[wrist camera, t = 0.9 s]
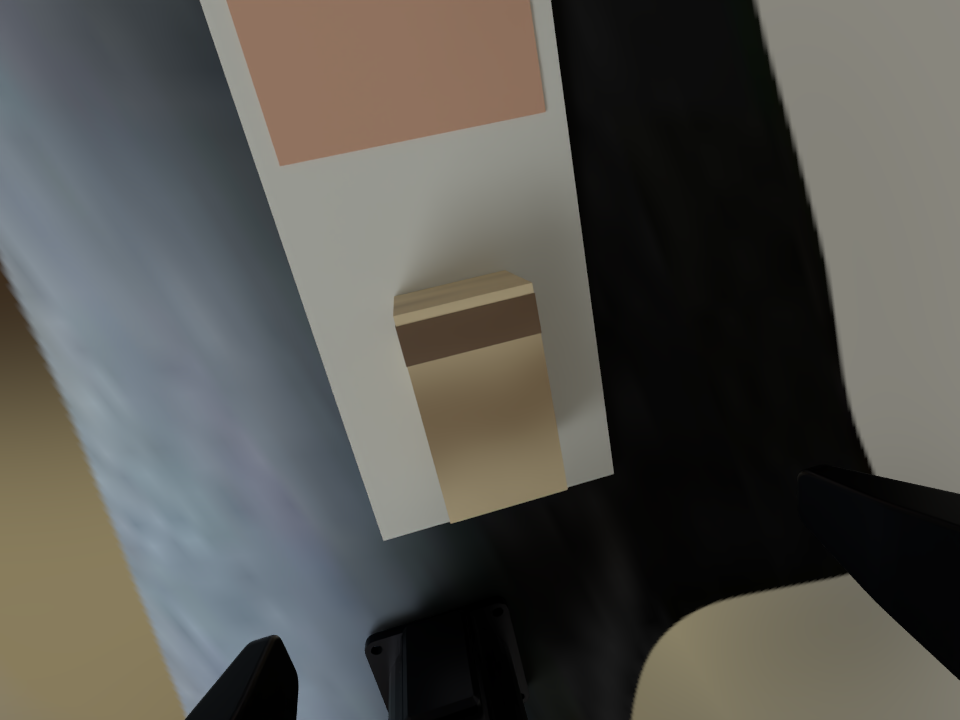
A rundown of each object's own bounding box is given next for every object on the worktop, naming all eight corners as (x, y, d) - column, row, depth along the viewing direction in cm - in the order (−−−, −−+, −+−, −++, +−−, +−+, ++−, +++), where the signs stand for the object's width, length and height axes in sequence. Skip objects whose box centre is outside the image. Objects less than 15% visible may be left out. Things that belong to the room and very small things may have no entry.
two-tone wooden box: (537, 441, 18) (568, 489, 15) (440, 468, 18) (450, 524, 15) (505, 269, 16) (533, 282, 13) (393, 296, 16) (392, 316, 12)
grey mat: (608, 467, 20) (615, 475, 19) (383, 533, 19) (383, 542, 18) (519, -189, 13) (524, -207, 12) (156, -140, 12) (145, -158, 12)
